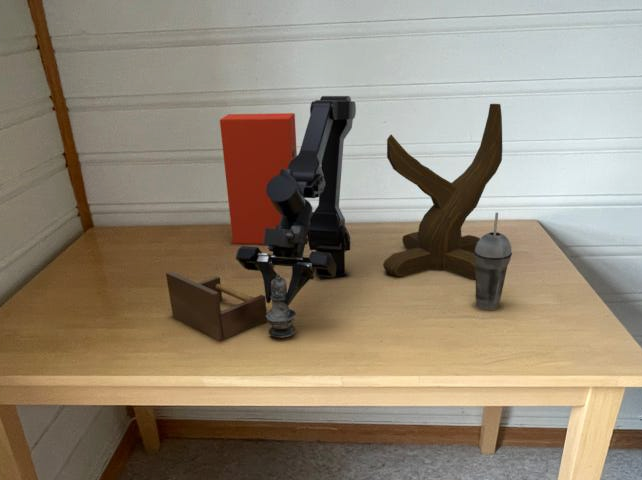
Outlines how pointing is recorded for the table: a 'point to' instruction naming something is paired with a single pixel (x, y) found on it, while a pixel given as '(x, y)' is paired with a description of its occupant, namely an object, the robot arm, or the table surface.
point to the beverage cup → (491, 268)
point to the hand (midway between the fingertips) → (277, 303)
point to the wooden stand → (446, 207)
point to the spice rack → (213, 307)
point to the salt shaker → (280, 310)
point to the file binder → (255, 169)
